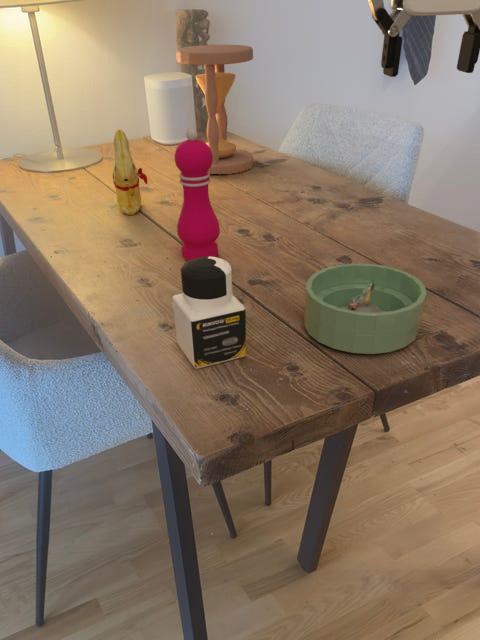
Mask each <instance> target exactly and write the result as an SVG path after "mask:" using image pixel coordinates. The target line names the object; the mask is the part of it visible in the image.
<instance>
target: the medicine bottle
mask: <svg viewBox="0 0 480 640" xmlns="http://www.w3.org/2000/svg"><path fill="white" fill-rule="evenodd" d="M232 273H233V270H232V266H231V264H230V262H228V261H227V260H226V259H223V258H220V257H218V256H217V257H210V256H205V257H198V258H194V259H192V260H189V261H188V260H186V262H184V263H183V265H182V266H181V267H180V278H181V290H182V293H177V294H173V296H172V297H171V299H172V307H173V318H174V327H175V328H174V329H175V336H176V344H177V345H178V347H179V349H180V350H181V352H182V353H183V354H184V356H185V357H186V358H187V360H188V361H189V362H190V364H191V365H192V367H193V368H194V369H195V370H198V369H202V368H207V367H211V366H214V365H218V364H223V363H225V362H229V361H230V362H231V361H234V360H239V359H241V358H245V357H246V356H247V319H246V318H247V317H246V316H247V315H246V306H245V305H244V304H243V303H242V302H241V301H239V299H237V297H236V296H235V295H234V294H233V274H232Z"/></svg>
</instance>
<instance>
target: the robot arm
mask: <svg viewBox="0 0 480 640" xmlns="http://www.w3.org/2000/svg"><path fill="white" fill-rule="evenodd" d="M367 2H368V6H369V9H370V12H371V18H372V20H373V21H374V23H376V25H377V27H378V28H379V29H380V32H381V34H382V35H383V44H382V51H381V52H382V53H381V61H380V66H381V68H382V69H383V71H382V73H383V75H385V76H388V77H390V78H395V77H397V76H398V75H399V70H400V62H401V54H402V47H403V37H402V36H400V32H401V31H402V29H404V26H406V24H407V23H408V21H410V19H411V18H412V17H413V16H414V17H415V16H417V17H422V16H424V17H425V16H451V15H453V16H454V15H462V17H463V19H464V21H465V23H466V26H467V27H468V28H467V31H464V32H463V34H462V37H461V42H460V48H459V53H458V58H457V62H456V63H457V64H456V69H457V71H459V72H462V73H466V74H473V73H474V70H475V67H476V64H477V62H478V60H479V56H480V0H390V9H391V10H392V11H391V13H390V14H389V12H388V11H387V9H386V8H385V4H384V0H367Z"/></svg>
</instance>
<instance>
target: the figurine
mask: <svg viewBox="0 0 480 640" xmlns="http://www.w3.org/2000/svg"><path fill="white" fill-rule="evenodd" d="M374 285H375V284H374V283H371V284H370V288H368V290H366V289H364V290H365V292H364V291H363V292H364V294H365V293H366V291H367V292H368V293H367V294H366V296H365V297H364V296H363V295H364V294H363V293H362V294H363V295H362V294H361V295H362V296H361V297H360V298H359V300H356V298H355V299H353V298H354V297H353V298H352V299H353V302H354V300H356V301H357V302H354V303H352V302H351V303H350V304H349V306H348V309H349V310H351V311H356V312H371V313H378V312H380V308H379V307H378V306H376V305H374V304H371V303H370V301H371V291H374ZM370 290H371V291H370ZM358 296H359V295H358ZM356 297H357V296H356ZM360 301H361V302H360ZM359 302H360V303H359Z"/></svg>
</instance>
